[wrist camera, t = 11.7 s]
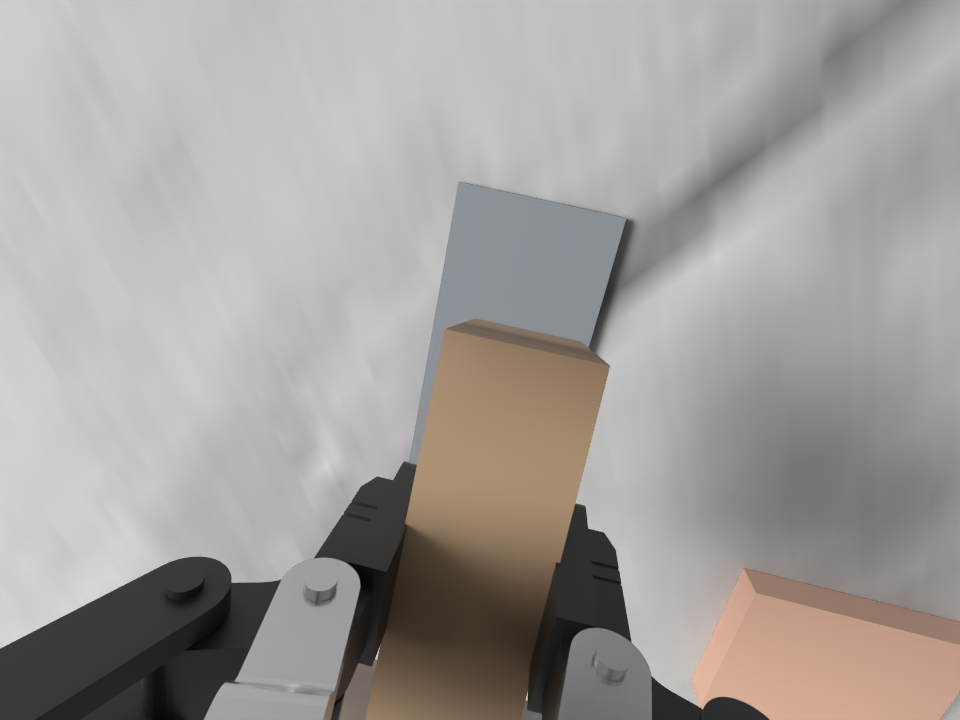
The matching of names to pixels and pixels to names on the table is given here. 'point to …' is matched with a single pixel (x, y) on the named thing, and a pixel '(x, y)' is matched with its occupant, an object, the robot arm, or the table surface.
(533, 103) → the table surface
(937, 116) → the table surface
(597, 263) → the mat
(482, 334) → the upright plank on base
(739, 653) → the tile
